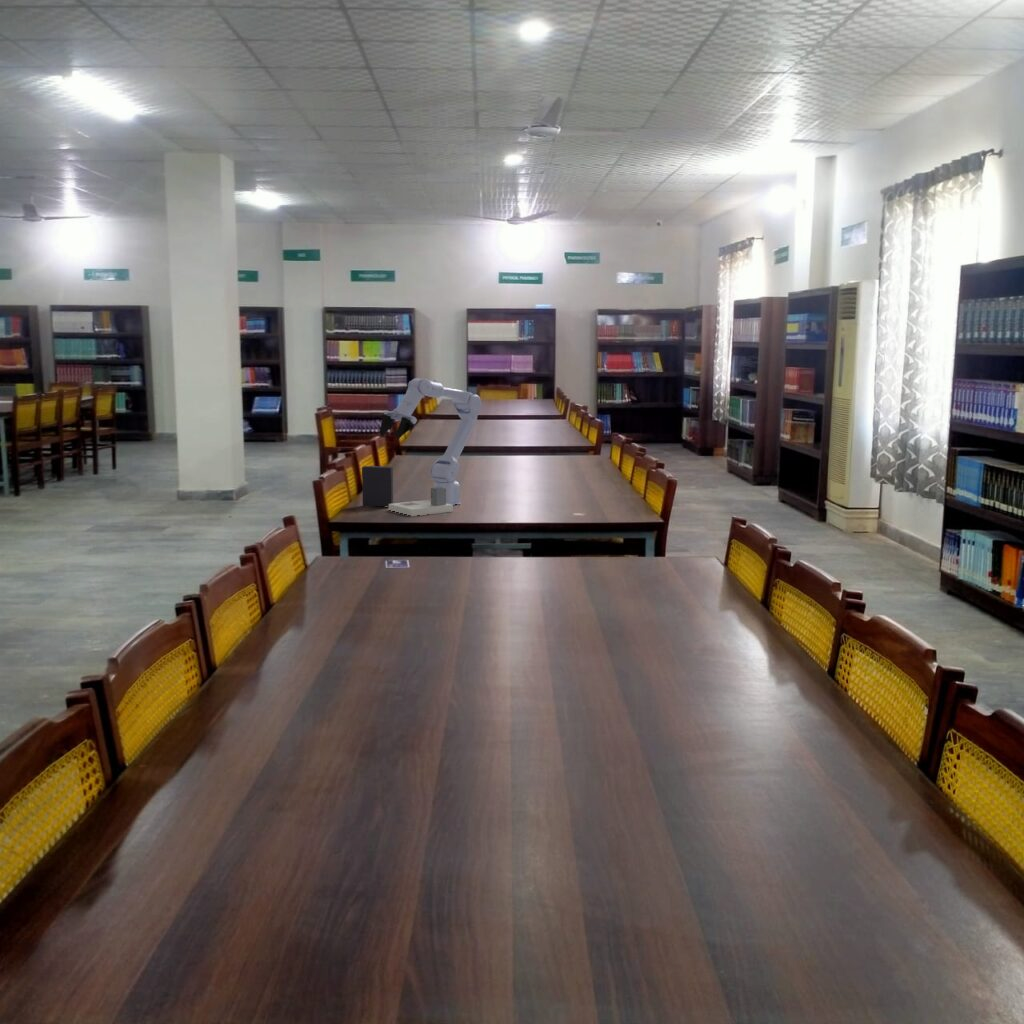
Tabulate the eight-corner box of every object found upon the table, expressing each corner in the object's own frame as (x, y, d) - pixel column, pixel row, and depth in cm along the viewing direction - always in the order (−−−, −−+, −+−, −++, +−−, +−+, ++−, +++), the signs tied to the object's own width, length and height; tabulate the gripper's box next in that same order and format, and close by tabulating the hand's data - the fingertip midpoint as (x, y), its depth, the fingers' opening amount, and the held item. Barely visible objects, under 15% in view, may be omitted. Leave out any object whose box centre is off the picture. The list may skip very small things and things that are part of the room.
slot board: (429, 506, 364) (429, 499, 363) (453, 511, 352) (453, 504, 352) (388, 510, 352) (388, 503, 352) (411, 516, 341) (411, 509, 341)
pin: (439, 503, 355) (439, 487, 354) (446, 504, 352) (446, 488, 351) (430, 504, 352) (430, 488, 351) (437, 505, 349) (437, 489, 348)
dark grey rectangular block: (393, 506, 363) (393, 466, 361) (391, 507, 359) (390, 467, 357) (365, 505, 364) (364, 465, 362) (362, 506, 360) (361, 466, 358)
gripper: (387, 396, 350) (368, 426, 346) (416, 401, 342) (397, 432, 337) (396, 408, 356) (378, 438, 351) (426, 414, 347) (407, 444, 342)
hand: (388, 435), depth 344 cm, fingers open, 7 cm apart
